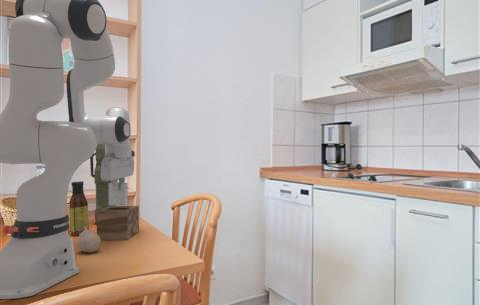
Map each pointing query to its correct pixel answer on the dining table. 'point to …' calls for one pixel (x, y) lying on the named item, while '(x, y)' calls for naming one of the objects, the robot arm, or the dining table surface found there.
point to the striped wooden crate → (117, 222)
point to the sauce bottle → (78, 209)
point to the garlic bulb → (88, 241)
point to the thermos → (100, 180)
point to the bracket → (118, 194)
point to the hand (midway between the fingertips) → (118, 190)
